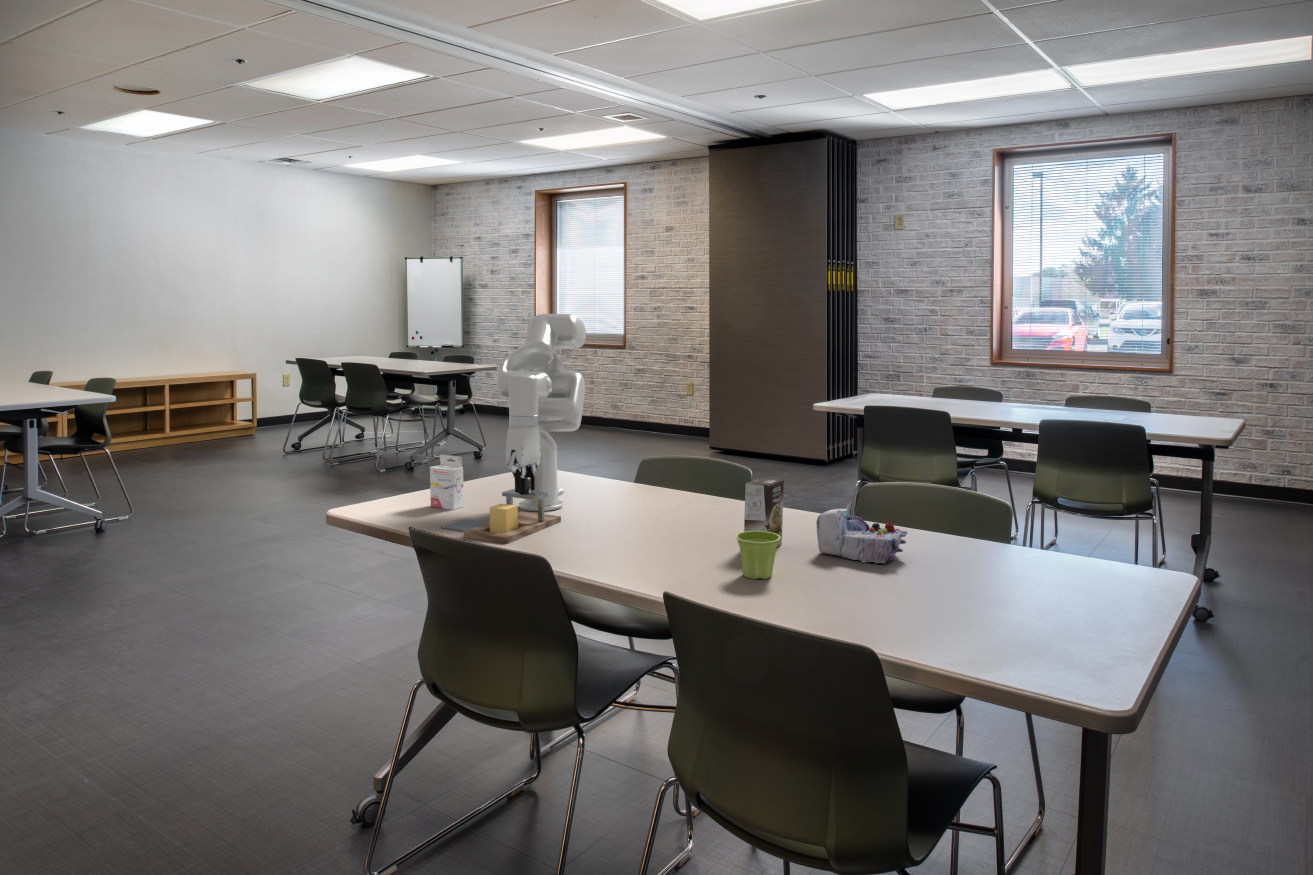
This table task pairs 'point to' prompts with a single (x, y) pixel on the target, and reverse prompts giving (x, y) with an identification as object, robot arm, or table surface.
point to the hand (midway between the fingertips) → (524, 490)
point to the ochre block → (503, 518)
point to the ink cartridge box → (447, 483)
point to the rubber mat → (464, 525)
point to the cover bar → (528, 497)
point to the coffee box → (764, 506)
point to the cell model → (857, 537)
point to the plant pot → (757, 553)
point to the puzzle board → (525, 527)
